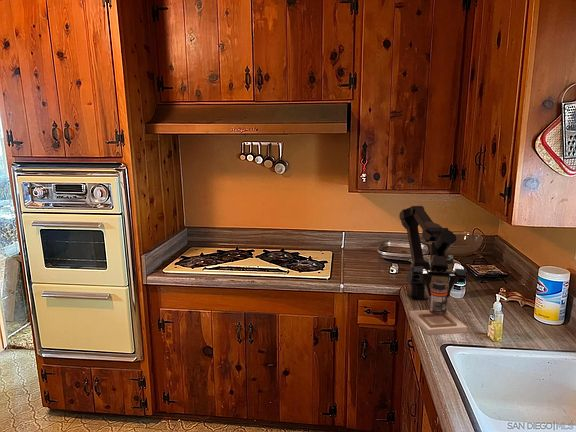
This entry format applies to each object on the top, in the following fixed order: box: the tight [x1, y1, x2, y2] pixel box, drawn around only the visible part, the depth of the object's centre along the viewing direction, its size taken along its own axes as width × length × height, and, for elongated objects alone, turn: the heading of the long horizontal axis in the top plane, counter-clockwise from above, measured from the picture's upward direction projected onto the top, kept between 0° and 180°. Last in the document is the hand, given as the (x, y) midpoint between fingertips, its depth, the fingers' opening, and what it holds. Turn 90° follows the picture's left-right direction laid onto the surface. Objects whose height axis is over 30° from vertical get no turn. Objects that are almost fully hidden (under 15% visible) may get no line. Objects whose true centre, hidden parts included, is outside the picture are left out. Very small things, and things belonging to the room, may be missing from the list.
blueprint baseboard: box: [409, 309, 468, 336], centre depth 155 cm, size 16×14×3 cm
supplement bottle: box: [428, 280, 448, 316], centre depth 152 cm, size 6×6×11 cm
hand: (438, 296), depth 150 cm, fingers closed on supplement bottle, 6 cm apart
